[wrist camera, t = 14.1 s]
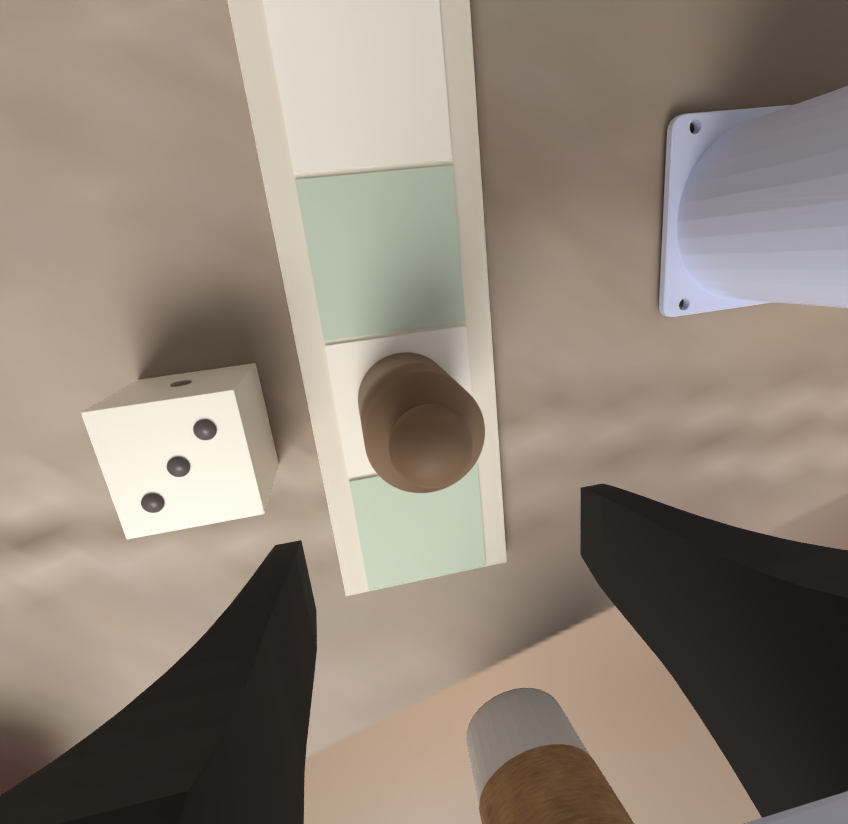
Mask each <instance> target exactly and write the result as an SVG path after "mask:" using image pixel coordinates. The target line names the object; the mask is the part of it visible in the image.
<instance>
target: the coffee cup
mask: <svg viewBox="0 0 848 824" xmlns="http://www.w3.org/2000/svg"><path fill="white" fill-rule="evenodd" d="M467 746H468V751H469V755H470V761H471V766H472V770H473V776H474V780H475V785H476V791H477V795H478V800H479V809H480V816H481V821H482V824H634V823H633V821H632V819H631V818H630V816H629V815H628V813H627V812H626V810H625V808H624V807H623V805H622V804H621V802H620V801H619V799H618V797H617V796H616V794H615V793H614V791H613V790H612V788H611V786H610V785H609V783H608V782H607V780H606V779H605V777H604V775H603V774H602V772H601V771H600V769H599V767H598V766H597V764H596V763H595V761H594V760H593V759H592V757H591V756H590V755H589V753H588V751H587V750H586V748H585V747H584V745H583V743H582V742H581V740H580V738H579V736H578V735H577V733H576V732H575V730H574V728H573V726H572V725H571V723H570V721H569V720H568V718H567V717H566V715H565V713H564V712H563V710H562V708H561V707H560V705H559V704H558V702H557V701H556V700H555V699H554V698H553V697H552V696H551V695H549V694H548V693H546V692H544V691H542V690H538V689H533V688H520V689H513V690H510V691H507V692H503V693H502V694H499V695H497V696H495V697H494V698H492V699H491V700H489V701H488V702H486V703H485V704H484V705H483V706H482V707H481V708H480V709H479V710H478V711H477V712H476V714H475V715H474V716H473V718H472V720H471V722H470V724H469V727H468V730H467Z"/></svg>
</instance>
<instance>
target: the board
mask: <svg viewBox="0 0 848 824" xmlns="http://www.w3.org/2000/svg"><path fill="white" fill-rule="evenodd" d="M227 1H228V6H229V12H230V17H231V22H232V27H233V32H234V37H235V42H236V47H237V52H238V57H239V62H240V67H241V72H242V77H243V82H244V87H245V92H246V97H247V102H248V107H249V112H250V117H251V122H252V127H253V132H254V137H255V142H256V147H257V152H258V157H259V162H260V167H261V172H262V177H263V182H264V187H265V192H266V197H267V202H268V207H269V212H270V217H271V222H272V227H273V232H274V237H275V242H276V247H277V252H278V257H279V262H280V267H281V272H282V277H283V282H284V287H285V292H286V298H287V303H288V308H289V313H290V318H291V323H292V328H293V333H294V338H295V343H296V348H297V353H298V358H299V363H300V368H301V373H302V378H303V383H304V388H305V393H306V398H307V403H308V408H309V413H310V418H311V423H312V428H313V433H314V438H315V443H316V448H317V453H318V458H319V463H320V468H321V473H322V478H323V483H324V488H325V493H326V498H327V503H328V508H329V513H330V518H331V523H332V528H333V533H334V538H335V543H336V548H337V553H338V558H339V563H340V568H341V573H342V579H343V584H344V589H345V594H346V596H349V595H354V594H358V593H363V592H368V591H372V590H377V589H382V588H386V587H391V586H396V585H401V584H405V583H410V582H415V581H419V580H424V579H429V578H433V577H438V576H443V575H447V574H452V573H457V572H462V571H466V570H471V569H476V568H480V567H485V566H490V565H494V564H499V563H504V562H507V560H506V545H505V530H504V515H503V499H502V484H501V469H500V454H499V439H498V424H497V408H496V393H495V378H494V363H493V348H492V332H491V317H490V302H489V287H488V272H487V257H486V241H485V226H484V211H483V196H482V181H481V166H480V150H479V135H478V120H477V105H476V90H475V75H474V59H473V44H472V29H471V14H470V0H227ZM402 352H411V353H417V354H421V355H424V356H426V357H428V358H430V359H431V360H433V361H434V362H436V363H437V364H438V365H439V366H440V367H441V368H442V369H443V370H444V371H446V372H447V373H448V374H449V375H450V376H451V377H452V378H453V379H454V380H455V381H456V382H457V383H459V384H460V385H461V386H462V387H463V388H464V389H465V390H466V391H467V392H468V393H469V394H470V395H471V396H472V397H473V398H474V399H475V401H476V402H477V404H478V406H479V407H480V410H481V412H482V415H483V419H484V424H485V439H484V445H483V448H482V451H481V454H480V456H479V458H478V460H477V462H476V463H475V465H474V466H473V468H472V469H471V470H470V471H469V472H468V473H467V474H466V475H465V476H464V477H463V478H462V479H461V480H459V481H458V482H456V483H455V484H453V485H451V486H449V487H447V488H445V489H442V490H439V491H435V492H430V493H412V492H407V491H403V490H400V489H398V488H395V487H393V486H392V485H390V484H388V483H387V482H385V481H384V480H383V479H382V478H381V477H380V476H379V475H378V474H377V473H376V472H375V470H374V469H373V468H372V466H371V464H370V462H369V460H368V457H367V455H366V450H365V445H364V439H363V433H362V426H361V420H360V414H359V408H358V392H359V387H360V385H361V382H362V380H363V378H364V376H365V374H366V373H367V371H368V370H369V369H370V368H371V367H372V366H373V365H374V364H375V363H376V362H378V361H379V360H381V359H383V358H385V357H387V356H389V355H392V354H396V353H402Z"/></svg>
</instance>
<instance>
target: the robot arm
mask: <svg viewBox="0 0 848 824" xmlns="http://www.w3.org/2000/svg"><path fill="white" fill-rule="evenodd" d="M690 123H693V125H694V132H693V134H692V133H691V131H690ZM682 299H683V302H684V303H683V306H682V307H681V309H680V308H679V303H680V301H681V300H682ZM771 302H780V303H792V304H804V305H816V306H829V307H841V308H848V86H846V87H843V88H840V89H837V90H834V91H832V92H829V93H826V94H823V95H820V96H817V97H814V98H812V99H809V100H806V101H803V102H800V103H797V104H795V105H784V106H772V107H760V108H748V109H735V110H723V111H711V112H699V113H687V114H682V115H679V116H677V117H675V118H673V119H672V120H671V121H670V123H669V125H668V129H667V143H666V165H665V187H664V209H663V230H662V252H661V274H660V295H659V310H660V312H661V314H662V315H664V316H668V317H676V316H683V315H689V314H696V313H703V312H710V311H717V310H724V309H730V308H737V307H744V306H751V305H758V304H765V303H771ZM581 556H582V558H583V559H584V561H585V563H586V565H587V566H588V568H589V570H590V571H591V573H592V575H593V576H594V578H595V579H596V581H597V582H598V584H599V586H600V587H601V588H602V590H603V591H604V592H605V593H606V595H607V596H608V597H609V598H610V600H611V601H612V602H613V603H614V605H615V606H616V607H617V608H618V610H619V611H620V612H621V613H622V614H623V616H624V617H625V618H626V619H627V620H628V622H629V623H630V624H631V625H632V627H633V628H634V629H635V630H636V631H637V633H638V634H639V635H640V636H641V637H642V639H643V640H644V641H645V642H646V644H647V645H648V646H649V647H650V648H651V650H652V651H653V652H654V653H655V654H656V656H657V657H658V658H659V659H660V661H661V662H662V663H663V665H664V666H665V667H666V669H667V670H668V671H669V672H670V674H671V675H672V676H673V678H674V679H675V681H676V682H677V684H678V685H679V687H680V688H681V690H682V691H683V693H684V694H685V695H686V697H687V698H688V700H689V701H690V703H691V704H692V706H693V707H694V709H695V710H696V712H697V713H698V715H699V716H700V718H701V719H702V721H703V723H704V724H705V726H706V727H707V729H708V730H709V732H710V733H711V735H712V737H713V738H714V739H715V741H716V743H717V744H718V746H719V748H720V749H721V751H722V752H723V754H724V755H725V757H726V759H727V760H728V762H729V763H730V765H731V767H732V768H733V770H734V772H735V773H736V775H737V777H738V778H739V780H740V781H741V783H742V785H743V786H744V788H745V790H746V791H747V793H748V795H749V797H750V798H751V800H752V802H753V803H754V805H755V807H756V808H757V810H758V811H759V813H760V815H761V816H762V818H760V819H757V820H754V821H751V822H747V823H744V824H848V550H841V549H835V548H829V547H823V546H818V545H813V544H807V543H801V542H796V541H791V540H786V539H782V538H778V537H773V536H769V535H765V534H761V533H757V532H753V531H749V530H745V529H741V528H737V527H734V526H730V525H727V524H724V523H720V522H717V521H714V520H710V519H707V518H704V517H701V516H698V515H695V514H692V513H689V512H686V511H683V510H680V509H677V508H674V507H671V506H668V505H665V504H663V503H660V502H657V501H654V500H652V499H649V498H646V497H643V496H640V495H638V494H635V493H632V492H629V491H626V490H623V489H620V488H617V487H613V486H610V485H606V484H598V485H593V486H587V487H582V488H581ZM316 652H317V624H316V607H315V602H314V597H313V593H312V588H311V583H310V579H309V574H308V569H307V565H306V560H305V555H304V551H303V546H302V541H301V540H300V541H295V542H290V543H285V544H279V545H275V546H274V548H273V549H272V550H271V552H270V553H269V554H268V555H267V557H266V558H265V560H264V561H263V562H262V564H261V565H260V566H259V568H258V569H257V570H256V572H255V573H254V575H253V576H252V577H251V579H250V580H249V581H248V583H247V584H246V585H245V586H244V588H243V589H242V590H241V592H240V593H239V594H238V595H237V597H236V598H235V599H234V601H233V602H232V603H231V604H230V606H229V607H228V608H227V609H226V610H225V611H224V612H223V614H222V615H221V616H220V617H219V618H218V619H217V621H216V622H215V623H214V624H213V625H212V626H211V628H210V629H209V630H208V631H207V632H206V633H205V634H204V635H203V636H202V637H201V638H200V640H199V641H198V642H197V643H196V644H195V645H194V646H193V647H192V648H191V649H190V650H189V651H188V652H187V653H186V654H185V655H184V656H183V657H181V658H180V659H179V660H178V661H177V662H176V663H175V664H174V665H173V666H172V667H171V668H170V669H169V670H168V671H167V672H166V673H165V674H164V675H162V676H161V677H160V678H159V679H158V680H157V681H155V682H154V683H153V684H152V685H151V686H149V687H148V688H147V689H146V690H145V691H144V692H142V693H141V694H140V695H139V696H138V697H137V698H135V699H134V700H133V701H132V702H131V703H130V704H128V705H127V706H126V707H125V708H124V709H122V710H121V711H120V712H119V713H117V714H116V715H115V716H114V717H112V718H111V719H110V720H108V721H107V722H106V723H105V724H103V725H102V726H101V727H99V728H98V729H97V730H95V731H94V732H93V733H91V734H90V735H89V736H87V737H86V738H85V739H83V740H82V741H80V742H79V743H78V744H76V745H75V746H74V747H72V748H71V749H70V750H68V751H67V752H65V753H64V754H63V755H61V756H60V757H58V758H57V759H55V760H54V761H53V762H51V763H50V764H48V765H47V766H45V767H44V768H42V769H41V770H39V771H38V772H36V773H35V774H33V775H32V776H30V777H29V778H27V779H26V780H24V781H22V782H21V783H19V784H18V785H16V786H15V787H13V788H12V789H10V790H9V791H7V792H6V793H4V794H3V795H1V796H0V824H304V823H303V822H304V771H305V757H306V744H307V735H308V726H309V717H310V708H311V699H312V690H313V681H314V672H315V662H316Z"/></svg>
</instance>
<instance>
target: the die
mask: <svg viewBox="0 0 848 824" xmlns="http://www.w3.org/2000/svg"><path fill="white" fill-rule="evenodd" d="M81 414H82V417H83V420H84V423H85V425H86V428H87V431H88V434H89V436H90V439H91V442H92V445H93V447H94V450H95V453H96V456H97V458H98V461H99V464H100V467H101V470H102V472H103V475H104V478H105V481H106V483H107V486H108V489H109V492H110V494H111V497H112V500H113V503H114V506H115V508H116V511H117V514H118V517H119V519H120V522H121V525H122V528H123V530H124V533H125V536H126V539H132V538H137V537H143V536H148V535H153V534H159V533H164V532H170V531H175V530H180V529H186V528H191V527H196V526H202V525H207V524H213V523H218V522H223V521H229V520H234V519H240V518H245V517H250V516H256V515H261V514H265V510H266V507H267V503H268V500H269V496H270V493H271V489H272V486H273V482H274V479H275V475H276V472H277V468H278V464H279V463H278V458H277V454H276V450H275V445H274V441H273V436H272V432H271V428H270V423H269V419H268V415H267V410H266V406H265V402H264V397H263V393H262V388H261V384H260V380H259V375H258V371H257V367H256V363H252V364H245V365H238V366H231V367H224V368H217V369H210V370H203V371H196V372H189V373H182V374H175V375H168V376H161V377H154V378H146V379H139V380H137V381H135V382H133V383H132V384H130V385H128V386H126V387H125V388H123V389H121V390H119V391H118V392H116V393H114V394H112V395H111V396H109V397H107V398H106V399H104V400H102V401H100V402H99V403H97V404H95V405H93V406H92V407H90V408H88V409H86V410H85V411H83V412H81Z"/></svg>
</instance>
